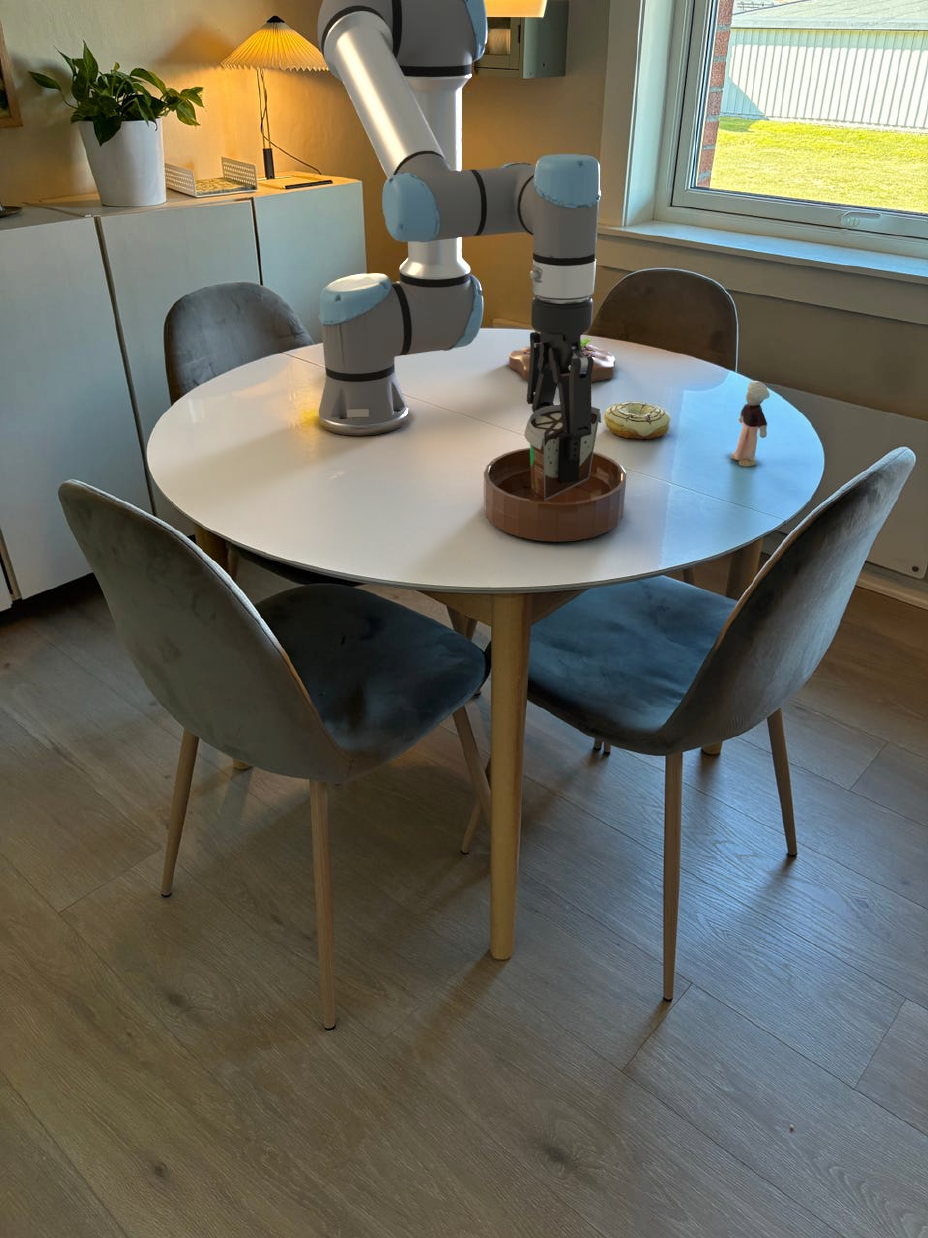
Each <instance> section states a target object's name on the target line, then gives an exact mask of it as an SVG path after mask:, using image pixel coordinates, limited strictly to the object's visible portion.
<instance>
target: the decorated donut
mask: <svg viewBox="0 0 928 1238" xmlns="http://www.w3.org/2000/svg"><path fill="white" fill-rule="evenodd" d="M603 420H604V422H605V426H606V427H607V429H608V430H609V432H611V433H613V434H614V435H617V436H618V437H621V438H622V437H623V438H624V439H639V440H644V439H646V440H651V439H655V438H659V437H660V436H664V435H666V434H667V433H668V431H669V428H670V421H671V415H670V414H669V412H667V410H665V409H664V408H663V407H662V406H659V405H656V404H651V403H648V402H643V401H623V402H617V403H615V404H612V405H610V407H608V408H607V409H606V410H605V412H604V416H603Z"/></svg>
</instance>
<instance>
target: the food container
mask: <svg viewBox="0 0 928 1238" xmlns="http://www.w3.org/2000/svg"><path fill="white" fill-rule="evenodd" d="M600 423H602V413H601V408H598V407H595V406H591V435H588V436H582V437H581V446H580V464H579V481H573V482H567V483H562V484H560V483H559V482H558V461H559V436H558V434H563V425H562V417H561V408H560V403H559V404H554V405H552V406H547V407H544V408H541V409H539V410H537V411H535V412H534V413H531V415H530V417H529V419H528V420H527V423H526V426H525V430H524V439H525V440H526V442H527V443H529V448H530V462H531V488H532V492H533V494H534V495H535V496H536V497H538V498H539V499H541V500H542V501H546V500H548V499H550V498H552V497H555V496H557V495H559V494H561V493H563V492H565V491H567V490H569V489H571V488H573V487H575V486H577V485H579V484H581V483H583V482H585V481H587V480H589V477H590V471H591V464H592V458H593V452H595V451H594V450H595V447H596V438H597V432H598V427H599V424H600Z"/></svg>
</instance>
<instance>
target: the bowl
mask: <svg viewBox="0 0 928 1238" xmlns="http://www.w3.org/2000/svg"><path fill="white" fill-rule="evenodd" d="M626 485H627V472H626V471H625V469H624V467H623V466H622V465H621V464H620V463H619V462H617V461H616V460H615V459H613V458H611V457H609V456H607V455H605V454H602V453H599V452H596V451H594V452H593V458H592V464H591V471H590V477H589V480H587V481H585V482H583V483H581V484H579V485H577V486H575V487H573V488H571V489H569V490H567V491H565V492H563V493H561V494H559V495H557V496H555V497H552V498H550V499H548V500H546V501H542V500H541V499H539V498H538V497H536V496H535V495H534V494H533V492H532V488H531V462H530V447H525V448H519V449H516V450H512V451H509V452H505V453H502V454H501V455H499V456H497V457H495V458H493V459H492V460H490V462H489V463H488V464H487V465H486V466H485V469H484V472H483V510H484V515H485V517H486V519H488V521H489V522H490V523H491V524H492V525H493V526H495V527H497V528H498V529H500V530H502V531H503V532H505V533H508V534H510V535H513V536H516V537H518V538H524V539H528V540H534V541H541V542H553V543H555V542H557V543H558V542H559V543H560V542H575V541H580V540H585V539H589V538H590V539H591V538H594V537H597V536H600V535H603V534H605V533H608V532H609V531H611V530H612V529H614V528H615V527H617V526H618V525H619V524H620V522H621V520H623V518H624V510H625V509H624V508H625V498H626Z"/></svg>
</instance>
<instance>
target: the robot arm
mask: <svg viewBox="0 0 928 1238" xmlns="http://www.w3.org/2000/svg"><path fill="white" fill-rule="evenodd" d="M317 40H318V46H319V49H320V52H321V55H322V58H323V60H324V62H325V65H326V66H327V68H328V70H329V72H330V73H331V74H332V76H334V77H335V79H337V80H339V81H341V82H342V83H343V86H344V87H345V90H346V92H347V94H348V96H349V99H350V100H351V103H352V105H353V107H354V109H355V112H356V114H357V115H358V117H359V120H360V122H361V124H362V127H363V128H364V131H365V133H366V135H367V137H368V139H369V142H370V144H371V146H372V148H373V150H374V152H375V154H376V157H377V159H378V161H379V163H380V165H381V168H382V169H383V171H384V174H385V176H386V178H387V179H386V180H385V182H384V184H383V189H382V195H381V197H382V199H381V203H382V204H381V205H382V206H381V207H382V213H383V217H384V220H385V221H384V222H385V227H386V229H387V231H388V234H389V235H390V236H391V238H393V239H394V240H395V241H397V242H401V243H407V254H408V255H407V258H406V259H405V260H404V261H403V263H402V264H401V265H400V266H399V281H396V282H395V281H394V282H392V281H391V279H390V277H389V276H388V275H386V274H384V273H377V272H372V273H359V274H354V275H353V274H352V275H348V276H345V277H342V278H339V279H336V280H334V281H332V282H330V283H328V284H327V285H326V286H325V287H323V289H322V290H321V292H320V295H319V318H318V319H319V320H318V321H319V323H320V327H321V338H322V349H323V359H324V368H325V382H324V386H323V391H322V394H321V399H320V403H319V408H318V421H319V424H320V427H322V428H323V429H325V430H326V431H329V432H331V433H335V434H340V435H344V436H372V435H379V434H384V433H388V432H392V431H395V430H397V429H399V428H401V427H402V426H404V425H405V424H406V423H407V422H408V420H409V408H408V407H409V406H408V404H407V402H406V399H405V397H404V396H405V395H404V393H403V391H402V388H401V387H400V384H399V381H398V378H397V376H396V375H397V374H396V366H395V364H396V363H395V362H396V361H395V359H396V357H400V356H410V355H417V354H424V353H431V352H438V351H439V352H440V351H443V352H446V351H449V352H450V351H451V350H454V349H458V348H463V347H466V346H469V345H470V344H472V342H473V341H474V340H475V339H476V337H477V336H478V334H479V332H480V329H481V326H482V322H483V316H484V297H483V295H482V292H483V289H482V287H481V283H480V281H479V279H478V278H477V277H476V276H475V275H473V274H471V267H470V265H469V263H467V262H466V261H465V260H464V259H463V257H462V238H470V237H485V236H494V235H507V234H516V233H517V234H518V233H525V234H527V235H528V234H529V235H531V236H533V237H532V238H533V239H532V242H533V245H532V259H533V260H532V270H531V271H530V272H529V277H530V278H531V279H532V293H533V294H534V295H535V296H533V298H532V299H531V315H530V316H531V319H530V324H531V328H532V329H533V331H531V332H530V333H529V347H530V348H531V351H530V364H529V376H528V381H527V388H526V389H527V390H526V403H527V404H528V405H531V411H532V412H533V413H534V412H535V411H537V410H539V409H541V408H544V407H547V406H552V405H555V404H554V401H555V396H556V394H557V393H556V392H558V399H559V404H560V408H561V417H562V425H563V434H558V436H559V461H558V482H559V483H560V484H562V483H567V482H573V481H579V464H580V446H581V437H582V436H588V435H591V407H592V382H591V375H592V369H593V364H594V360H593V357H592V356H589V357H585V356H584V355H583V354H582V347H581V341H582V340H581V336H582V335H583V334H584V333H586V332H588V331H589V330H591V328H592V325H593V312H594V311H593V309H594V300H593V299H592V297H591V296H592V295H593V294H594V293H595V279H596V265H597V264H596V262H597V259H596V253H597V241H598V228H599V215H600V201H601V197H602V192H601V187H600V185H601V184H600V183H601V180H600V179H601V167H600V163H599V160H598V159H597V158H596V157H594V156H592V155H588V154H577V153H558V154H557V153H556V154H555V153H553V154H548V155H547V154H546V155H542V156H540V158H539V159H538V160H537V161H536V164H535V165H533V164H532V163H531V162H530V163H529V162H525V161H524V162H509V163H505V164H503V165H502V166H499V167H490V168H479V169H462V89H463V87H464V86H465V85H466V83H468V81H469V80H470V79H471V77H472V63H474V62H476V61H478V60H480V59H481V58H482V57H483V55H484V53H485V50H486V44H487V41H488V16H487V8H486V3H485V0H322V3H321V6H320V9H319V14H318V18H317ZM534 330H536V331H538V332H535V331H534ZM564 374H570V375H568V376H561V375H564ZM557 389H558V391H557ZM533 413H532V414H533Z"/></svg>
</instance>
